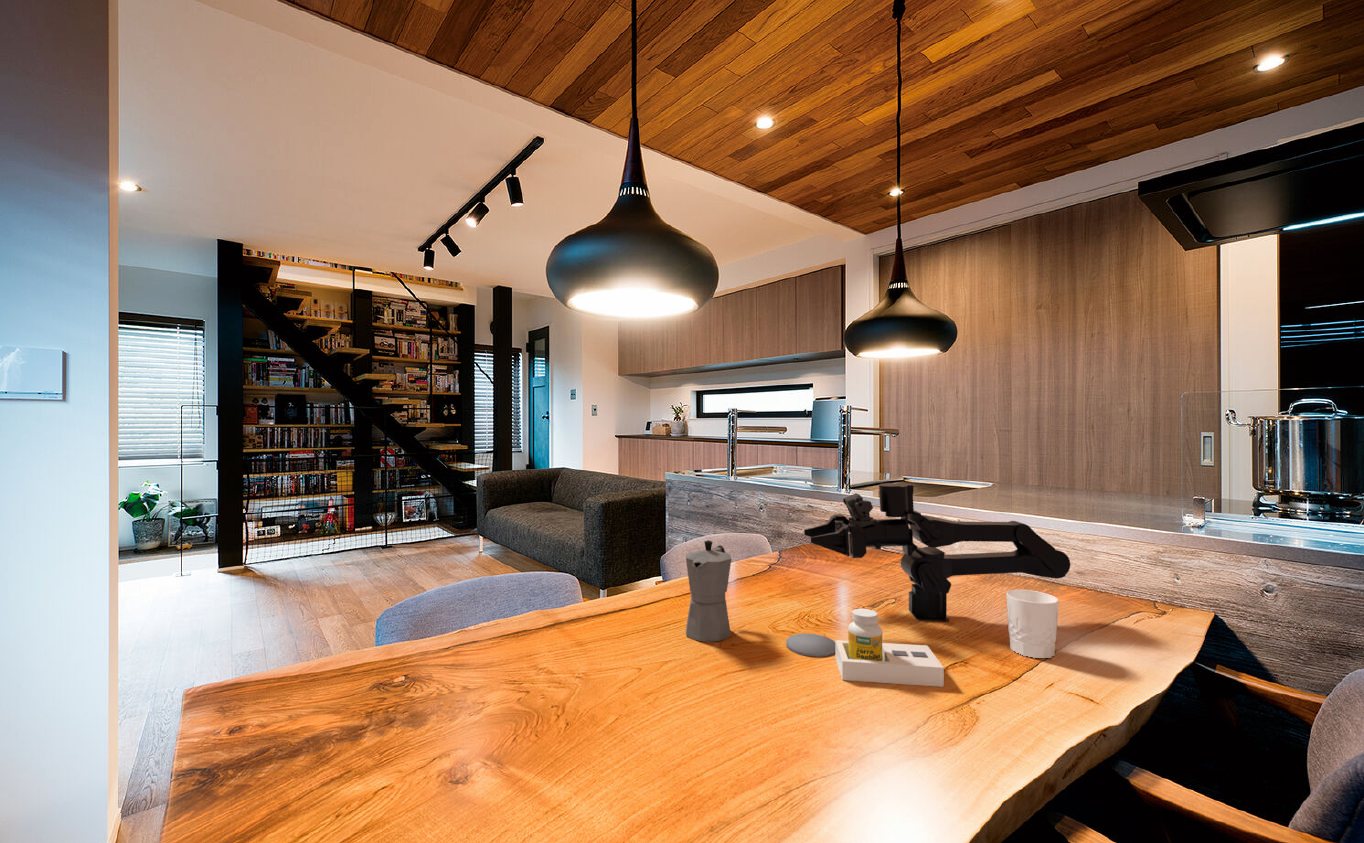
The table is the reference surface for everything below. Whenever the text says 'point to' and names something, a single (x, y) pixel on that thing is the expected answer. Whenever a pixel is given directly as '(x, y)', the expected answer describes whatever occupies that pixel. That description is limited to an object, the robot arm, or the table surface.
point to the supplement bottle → (865, 636)
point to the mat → (811, 645)
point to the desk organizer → (892, 665)
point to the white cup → (1032, 622)
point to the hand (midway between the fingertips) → (807, 536)
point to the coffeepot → (708, 594)
